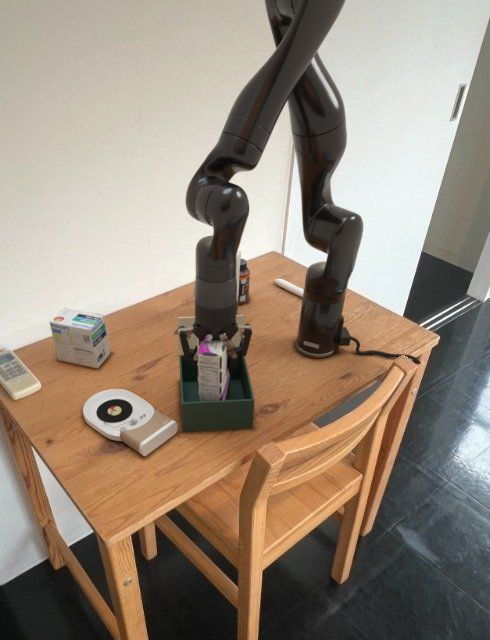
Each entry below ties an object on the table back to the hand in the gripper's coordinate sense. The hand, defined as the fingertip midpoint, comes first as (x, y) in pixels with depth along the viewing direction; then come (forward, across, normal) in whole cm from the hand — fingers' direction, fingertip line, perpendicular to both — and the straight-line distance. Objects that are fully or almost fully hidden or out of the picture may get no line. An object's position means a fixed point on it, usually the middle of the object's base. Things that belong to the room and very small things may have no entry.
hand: (214, 371), depth 102 cm
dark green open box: (+9, 0, 0) cm, 9 cm away
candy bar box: (+8, 0, 0) cm, 8 cm away
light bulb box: (+9, -29, +19) cm, 36 cm away
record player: (+9, -18, -4) cm, 21 cm away
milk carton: (+9, +4, +33) cm, 34 cm away
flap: (-3, 0, +8) cm, 9 cm away
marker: (+9, +27, +45) cm, 53 cm away
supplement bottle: (+9, +10, +43) cm, 45 cm away
